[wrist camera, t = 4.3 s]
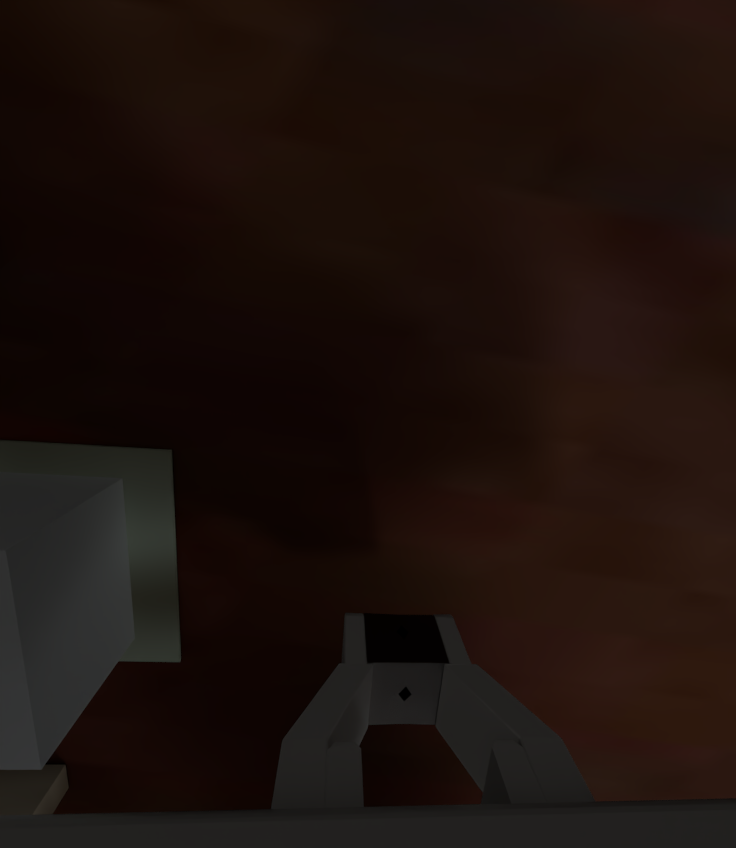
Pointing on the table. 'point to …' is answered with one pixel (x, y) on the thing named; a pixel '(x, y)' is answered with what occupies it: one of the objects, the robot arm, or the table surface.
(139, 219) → the table surface
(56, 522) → the block
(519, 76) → the table surface
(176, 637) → the grey-green e-shaped frame
